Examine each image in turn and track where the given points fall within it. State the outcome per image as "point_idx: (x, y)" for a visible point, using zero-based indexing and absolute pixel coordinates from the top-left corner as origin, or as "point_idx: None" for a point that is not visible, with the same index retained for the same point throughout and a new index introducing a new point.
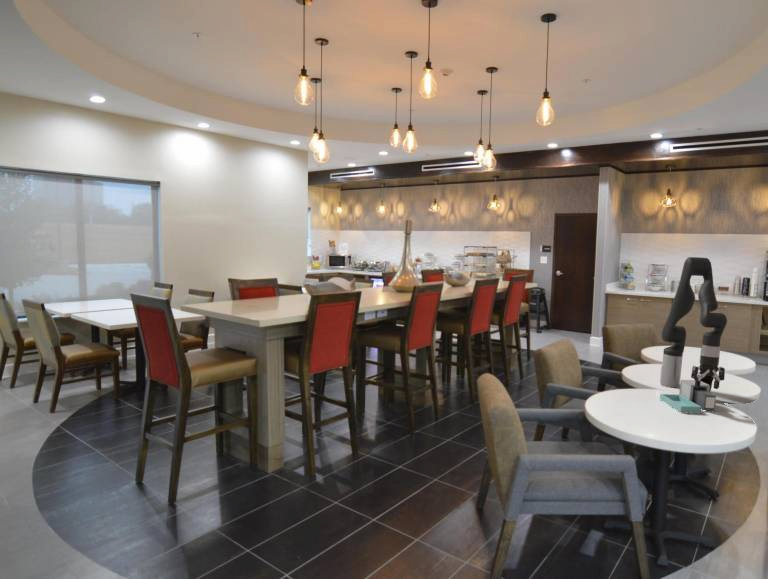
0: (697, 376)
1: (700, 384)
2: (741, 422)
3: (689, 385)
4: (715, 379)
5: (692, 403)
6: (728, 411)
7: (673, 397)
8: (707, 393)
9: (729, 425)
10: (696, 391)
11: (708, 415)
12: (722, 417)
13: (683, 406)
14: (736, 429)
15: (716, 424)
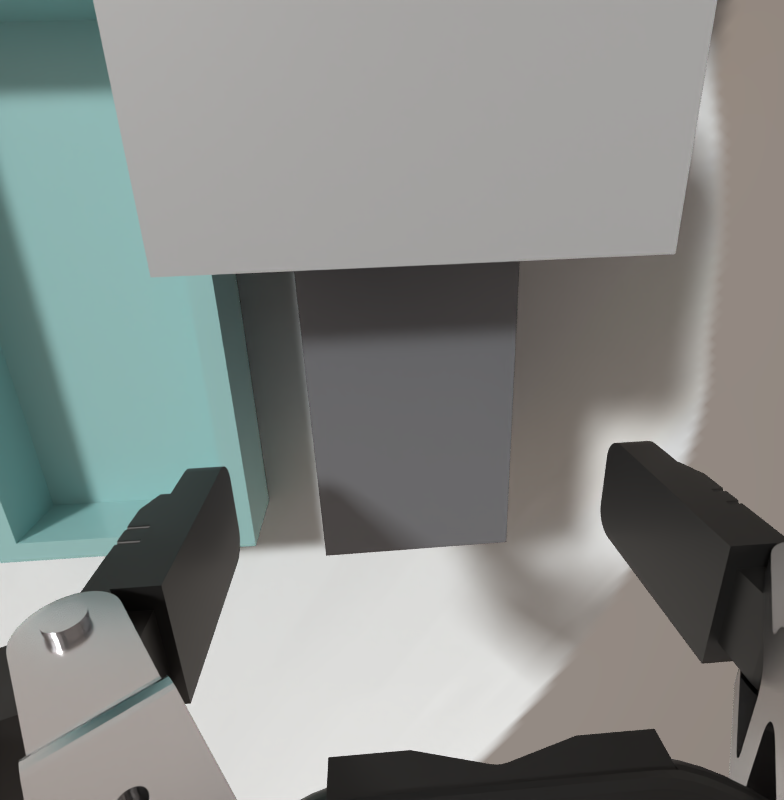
0: (60, 733)
1: (456, 195)
2: (521, 652)
3: (151, 205)
4: (763, 610)
5: (211, 408)
6: (631, 390)
7: (65, 5)
8: (422, 463)
9: (368, 722)
10: (300, 312)
11: (321, 541)
12: (431, 570)
13: (30, 560)
14: None
15: (270, 721)
